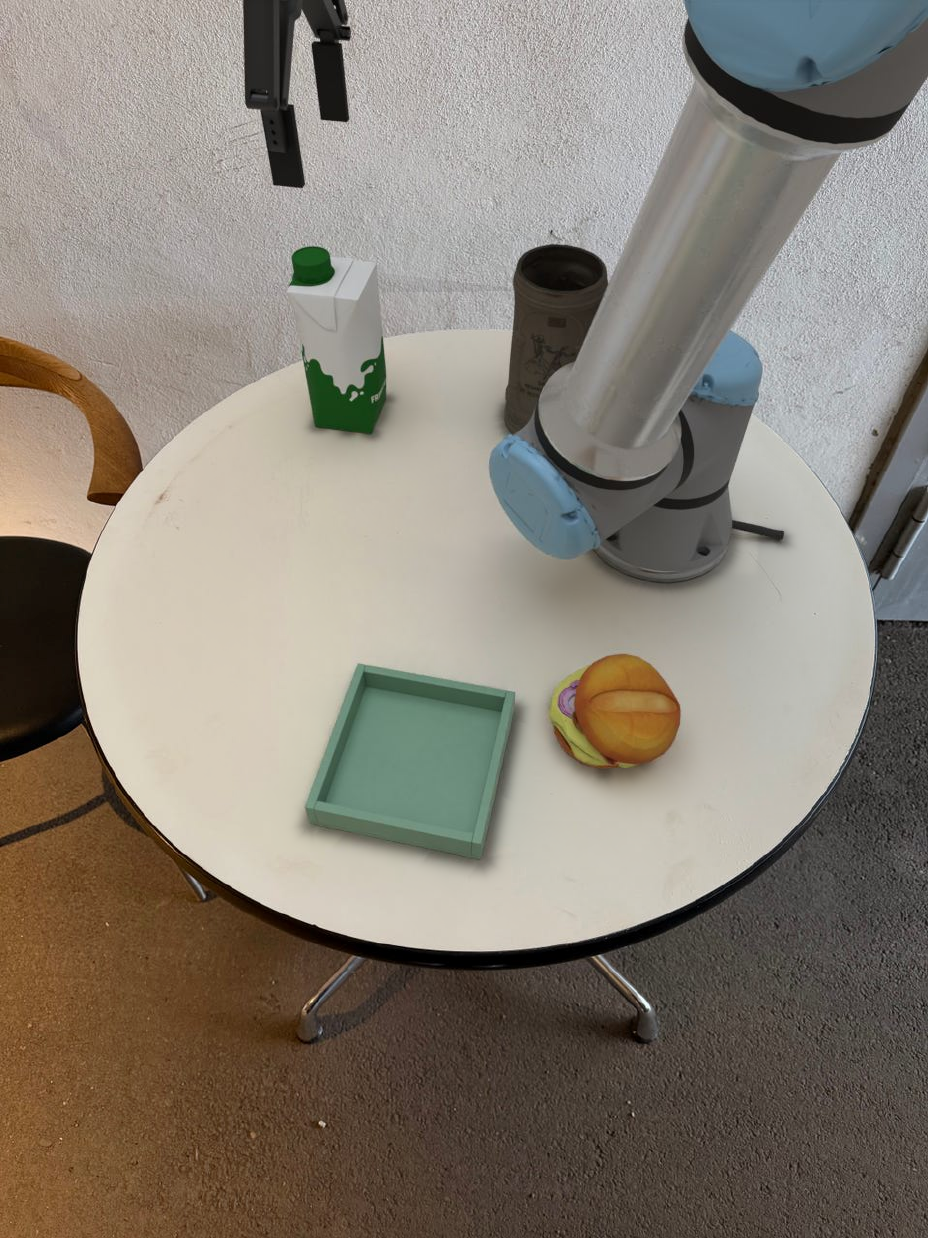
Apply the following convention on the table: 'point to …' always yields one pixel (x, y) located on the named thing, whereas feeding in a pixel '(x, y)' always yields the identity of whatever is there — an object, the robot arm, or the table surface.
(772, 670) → the table surface
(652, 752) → the cheeseburger
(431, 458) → the table surface
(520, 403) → the beer stein
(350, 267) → the soya milk
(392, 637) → the table surface
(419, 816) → the tray
